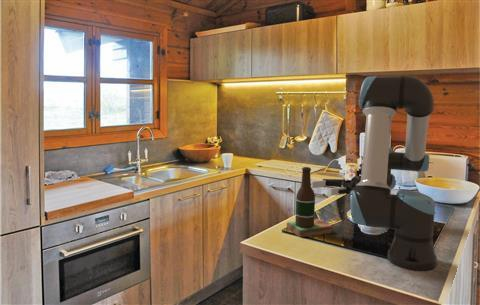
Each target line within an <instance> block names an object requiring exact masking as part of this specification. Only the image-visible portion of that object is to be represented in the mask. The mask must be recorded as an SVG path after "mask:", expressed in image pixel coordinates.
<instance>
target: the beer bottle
mask: <svg viewBox="0 0 480 305" xmlns="http://www.w3.org/2000/svg"><path fill="white" fill-rule="evenodd" d="M301 171H302V174H301V184H300V188H299V189H298V190H297V193H296V196H295V222H296V226H298V227H300V228H311V227H313V225H314V219H315V212H316V211H315V210H316V209H315V207H316V195H315V190H314V188H312V181H311V171H312V168H311V167H308V166H304V167H302V168H301Z"/></svg>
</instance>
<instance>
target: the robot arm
mask: <svg viewBox="0 0 480 305" xmlns="http://www.w3.org/2000/svg"><path fill="white" fill-rule="evenodd" d="M358 98H359V99H358V107H359V108H360V109H362V114H363V115H364V116H365V118H366V119H365V130H364V141H363V150H362V151H363V152H362V163H361V174H360V175H355V176H353V177H352V178H351V179H345V178H341V179H338V178H337V179H336V178H323V179H322V180H313V181H311V188H312V189H316V188H324V189H325V188H326V187H331V188H330V189H329V196H337V195H338V196H339V195H341V196H342V195H349V196H350V197H349V198H350V199H349V205H350V206H349V207H350V215H351V221H352V222H353V223H354V224H357V225H361V226H365V227H373V228H375V227H376V228H381V229H391V230H394V237H393V239H392V242H391V244H390V246H389V248H388V250H387V260H388V261H389V262H390V263H392V264H393V265H396V266H399V267H400V268H404V269H408V270H414V271H430V270H433V269H436V267H437V264H438V262H437V261H438V260H437V255H436V252H435V247H434V244H433V237H434V224H435V222H434V221H435V216H436V203H435V200H434V199H433V197H431V196H429V195H427V194H424V193H422V192H419V191H415V190H407V189H406V190H404V189H400V190H398V191H397V193H396V194H395V193H393V194H392V193H391V192H392V191H391V190H393V189H394V188H396V185H397V180H396V176H395V175H394V174H393V173H392V172H391V171H392V170H395V171H396V170H397V171H408V172H417V173H418V172H419V173H420V172H428V171H429V169H430V168H429V167H430V166H429V165H430V155H429V154H428V153H426V148H427V139H428V131H429V124H430V116H431V115H432V114H433V112H434V110H435V108H434V107H435V99H434V94H433V92H432V91H431V88H429V86H428V85H427V83H425V82H424V80H421V79H419V78H418V77H416V76H412V75H375V76H374V75H373V76H367V77H366V78H364V79H363V81H362V84H361V88H360V91H359V97H358ZM397 109H398V110H399V109H401V110H403V109H404V112H405V113H406V114H407V116H406V131H405V132H406V133H405V144H404V145H405V148H404V151H405V152H398V151H393V148H392V147H390V143H391V142H390V141H391V128H392V118H393V117H394V116H396V115H397V111H398V110H397ZM332 187H333V188H332Z"/></svg>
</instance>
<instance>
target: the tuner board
mask: <svg viewBox="0 0 480 305" xmlns="http://www.w3.org/2000/svg"><path fill="white" fill-rule="evenodd" d="M286 229H287V230H288V231H290V232H291V233H293V234H295V235H296V236H298V237H299V238H304V237H309V236H319V235H324V234H325V235H326V234H331V233H332V234H333V226H332V225H331V224H329V223H327V222H325V221H323V220H321V219H319V218H314V225H313V227H311V228H300V227H298V226H296V221H290V222H286Z"/></svg>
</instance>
